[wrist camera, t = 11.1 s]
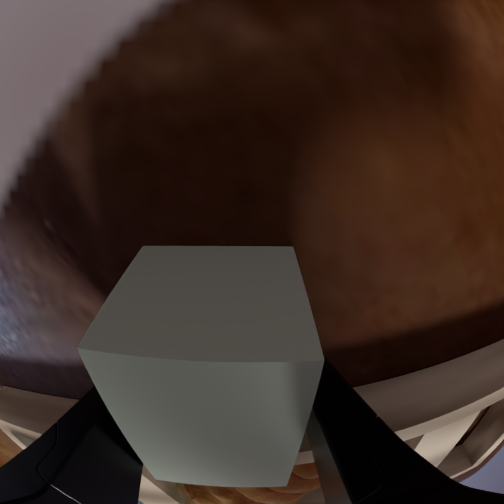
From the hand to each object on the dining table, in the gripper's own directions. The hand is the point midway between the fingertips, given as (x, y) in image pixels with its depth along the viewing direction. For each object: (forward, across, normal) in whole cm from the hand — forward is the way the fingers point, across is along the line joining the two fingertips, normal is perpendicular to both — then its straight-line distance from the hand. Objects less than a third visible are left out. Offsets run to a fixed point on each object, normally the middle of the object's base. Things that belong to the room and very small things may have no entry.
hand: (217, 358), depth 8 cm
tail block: (+1, 0, 0) cm, 1 cm away
